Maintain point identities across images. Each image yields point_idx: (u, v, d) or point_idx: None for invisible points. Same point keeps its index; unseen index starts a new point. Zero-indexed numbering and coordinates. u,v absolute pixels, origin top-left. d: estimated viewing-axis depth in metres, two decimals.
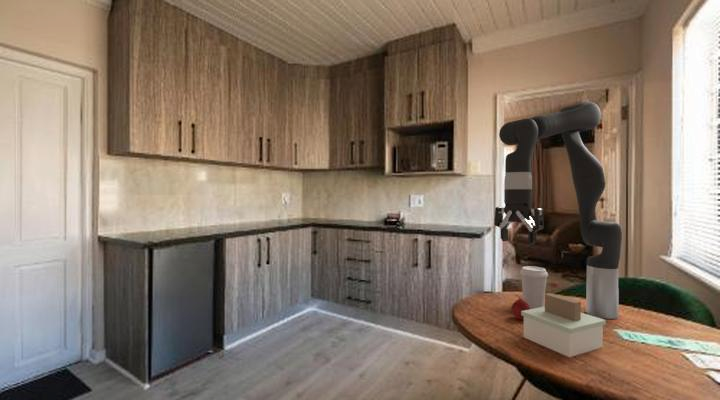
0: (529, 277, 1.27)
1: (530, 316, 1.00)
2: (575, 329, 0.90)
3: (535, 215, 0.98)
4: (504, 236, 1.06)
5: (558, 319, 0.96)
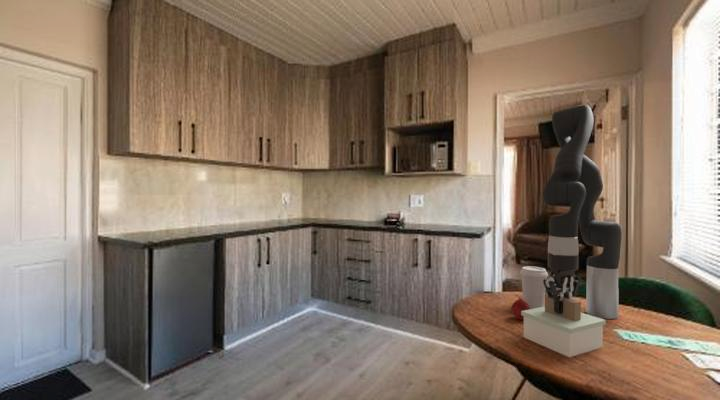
0: (529, 277, 1.27)
1: (530, 316, 1.00)
2: (575, 329, 0.90)
3: (578, 283, 1.00)
4: None
5: (558, 319, 0.96)
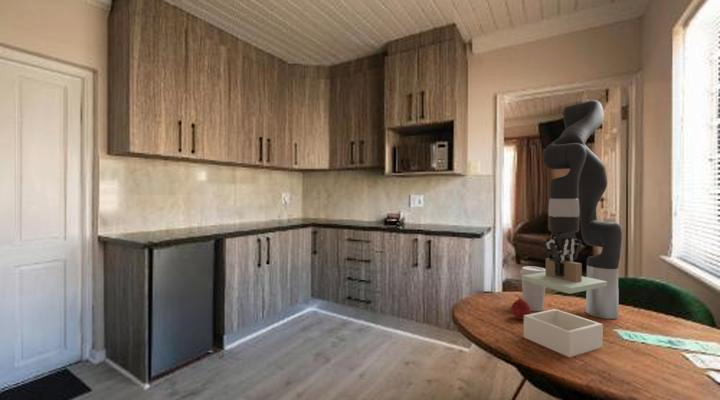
0: None
1: (531, 279, 1.00)
2: (576, 288, 0.90)
3: (578, 246, 1.00)
4: None
5: (559, 281, 0.96)
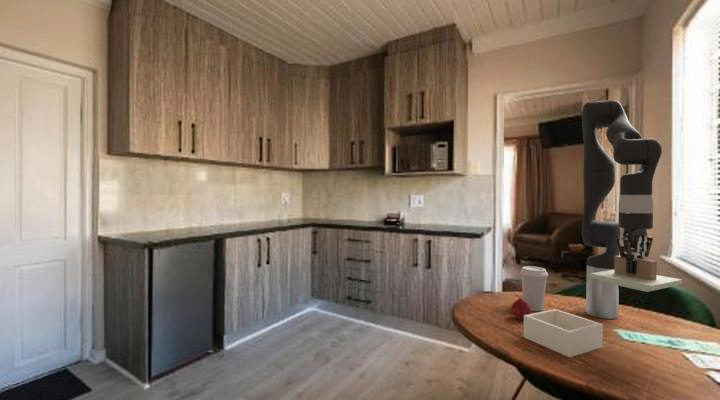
0: (529, 277, 1.27)
1: (601, 277, 0.98)
2: (655, 286, 0.88)
3: (650, 243, 0.98)
4: None
5: (633, 279, 0.94)
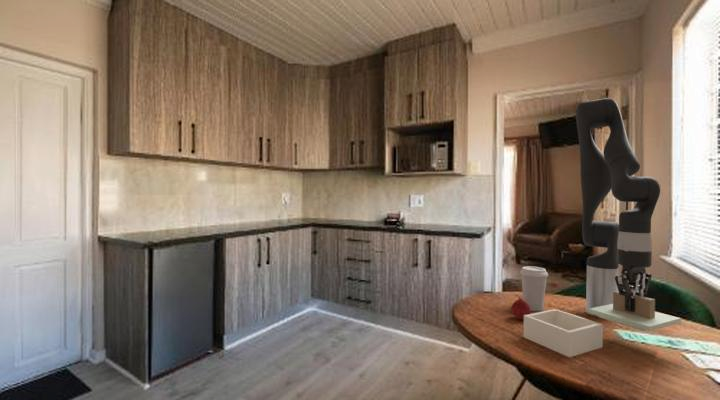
0: (529, 277, 1.27)
1: (600, 314, 0.98)
2: (653, 327, 0.88)
3: (648, 280, 0.98)
4: None
5: (631, 316, 0.94)
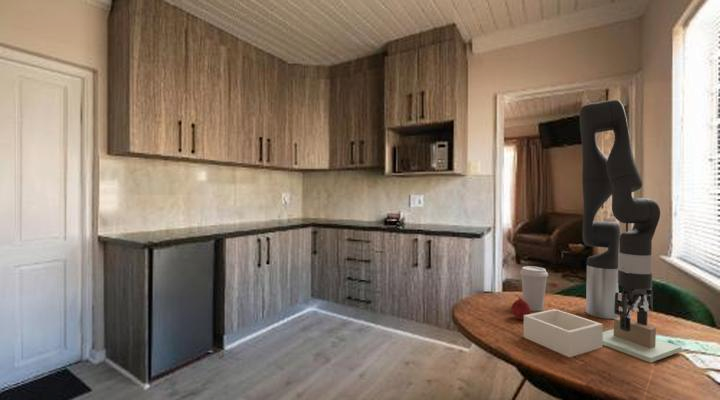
0: (529, 277, 1.27)
1: None
2: (654, 358, 0.88)
3: (651, 296, 0.98)
4: None
5: (632, 345, 0.94)
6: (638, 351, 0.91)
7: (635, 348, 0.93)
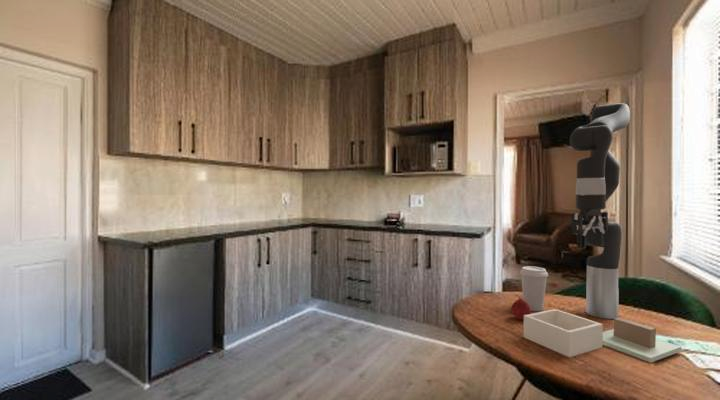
0: (529, 277, 1.27)
1: None
2: (655, 358, 0.88)
3: (606, 218, 1.07)
4: None
5: (632, 345, 0.94)
6: (638, 351, 0.91)
7: (635, 348, 0.93)
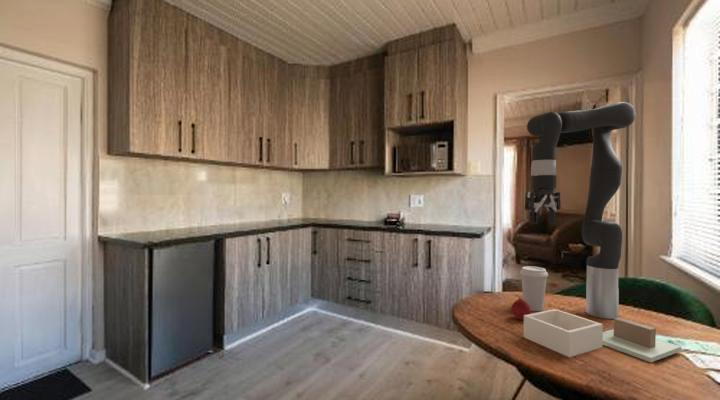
0: (529, 277, 1.27)
1: None
2: (655, 357, 0.88)
3: (558, 197, 1.17)
4: None
5: (632, 345, 0.94)
6: (638, 351, 0.91)
7: (635, 348, 0.93)
